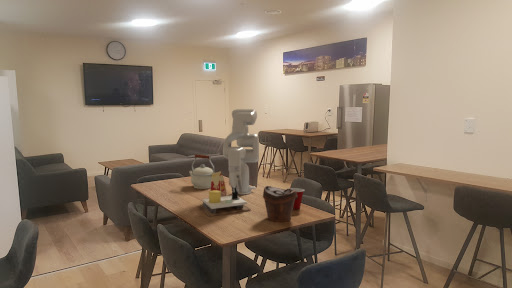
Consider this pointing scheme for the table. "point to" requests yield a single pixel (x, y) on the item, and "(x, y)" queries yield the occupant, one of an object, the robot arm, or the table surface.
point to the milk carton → (218, 183)
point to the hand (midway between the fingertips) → (234, 198)
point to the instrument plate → (222, 200)
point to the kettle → (201, 174)
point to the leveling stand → (223, 210)
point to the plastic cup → (298, 201)
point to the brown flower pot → (279, 203)
